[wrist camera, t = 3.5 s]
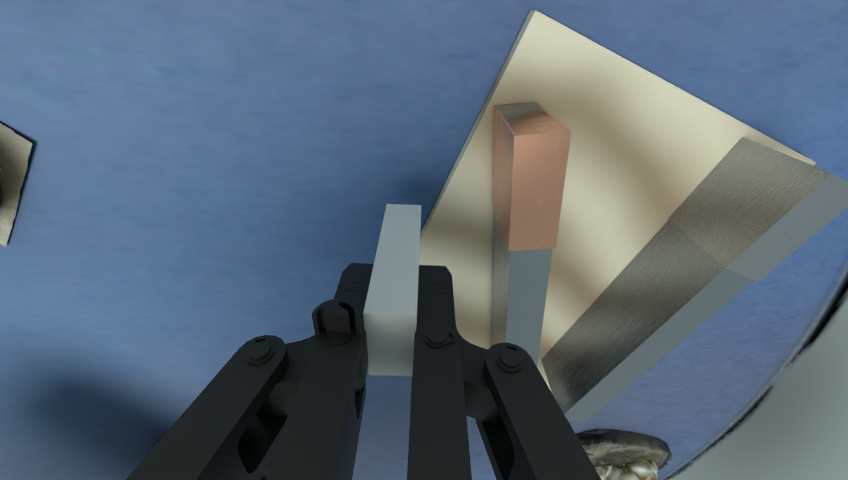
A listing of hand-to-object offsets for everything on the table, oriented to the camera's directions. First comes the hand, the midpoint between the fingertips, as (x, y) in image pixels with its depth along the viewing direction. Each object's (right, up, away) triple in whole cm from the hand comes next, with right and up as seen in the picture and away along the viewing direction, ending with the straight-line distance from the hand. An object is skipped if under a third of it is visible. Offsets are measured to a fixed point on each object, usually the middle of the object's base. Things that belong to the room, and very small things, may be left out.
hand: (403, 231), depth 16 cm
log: (+19, -22, +20) cm, 35 cm away
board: (+9, -2, +7) cm, 11 cm away
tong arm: (+6, -2, +5) cm, 8 cm away
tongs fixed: (+12, -4, +7) cm, 15 cm away
